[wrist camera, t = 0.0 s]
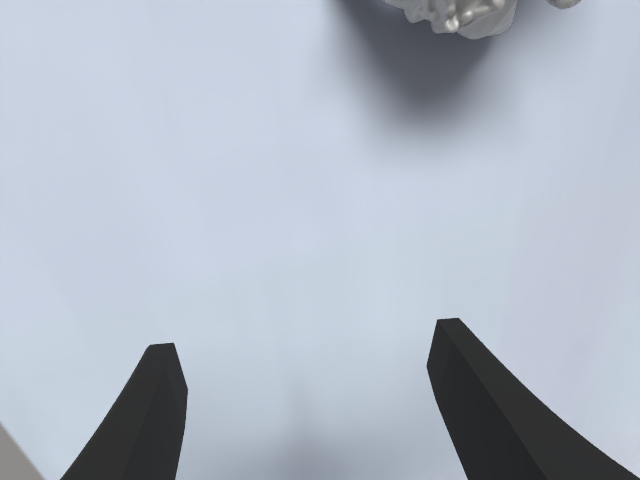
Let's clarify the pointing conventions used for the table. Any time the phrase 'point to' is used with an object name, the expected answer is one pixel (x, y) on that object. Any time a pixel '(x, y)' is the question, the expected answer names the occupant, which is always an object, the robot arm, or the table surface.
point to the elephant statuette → (466, 14)
